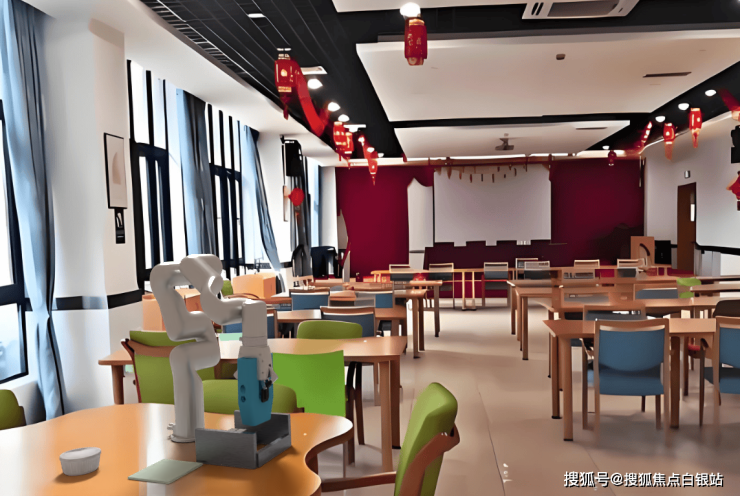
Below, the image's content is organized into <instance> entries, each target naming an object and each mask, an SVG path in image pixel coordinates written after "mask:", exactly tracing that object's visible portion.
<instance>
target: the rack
mask: <svg viewBox="0 0 740 496" xmlns="http://www.w3.org/2000/svg"><path fill="white" fill-rule="evenodd" d="M233 419H234V422H233V423H234V428H236V429H247V432H242V431H230V430H229V429H228V430H227V429H218V428H217V429H216V428H207V427H205V428H197V429H195V441H194V442H195V443H194V444H195V462H198V463H203V465H211V466H221V467H230V468H239V469H247V470H256V469H257V468H261V467H262V466H264V465H265V464H267V463H269V462H270V461H271V460H273V459H274V458H276V457H278V455H280V454H282V453H284V452H285V451H286V450H288V449H289V448H291V446H292V428H291V427H292V426H291V423H292V421H291V419H292V418H291V413H284V412H272V411H271V418H270V420H268V421H265V422H263V423H261V424H258V425H256V426H249V425H243V424H242V419H241V415H240V410H239V409H235V410H234V411H233ZM257 445H265V446H263V447H262V448H260V449H258V450H257V447H258V446H257Z"/></svg>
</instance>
